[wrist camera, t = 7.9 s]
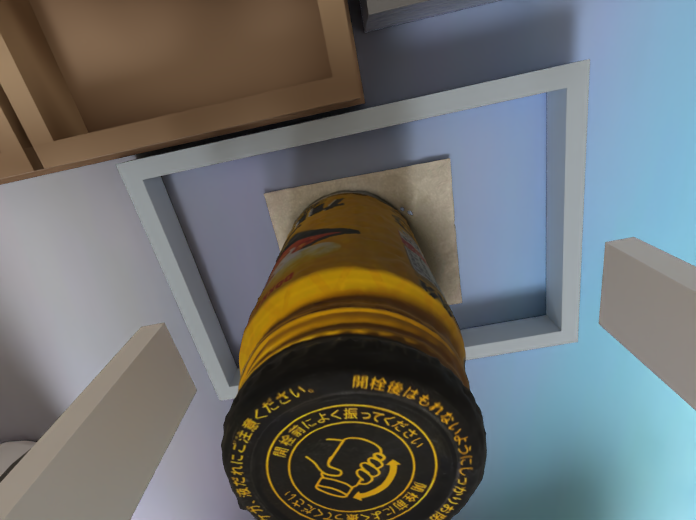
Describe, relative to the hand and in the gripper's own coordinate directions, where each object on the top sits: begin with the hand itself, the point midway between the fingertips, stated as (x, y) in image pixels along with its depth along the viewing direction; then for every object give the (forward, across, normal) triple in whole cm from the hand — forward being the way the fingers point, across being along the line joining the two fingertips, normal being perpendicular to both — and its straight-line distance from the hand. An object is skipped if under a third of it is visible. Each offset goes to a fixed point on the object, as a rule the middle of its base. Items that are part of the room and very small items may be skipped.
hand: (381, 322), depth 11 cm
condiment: (+7, 0, 0) cm, 7 cm away
